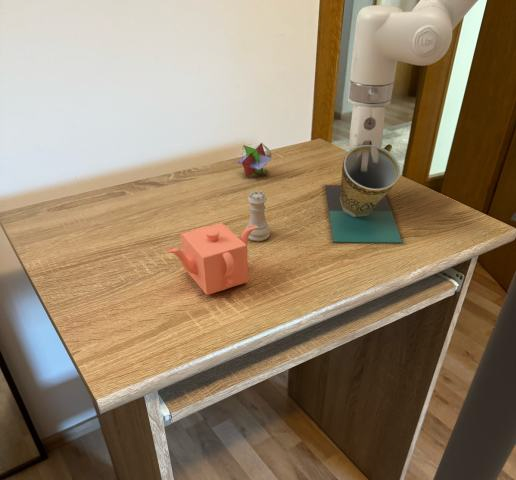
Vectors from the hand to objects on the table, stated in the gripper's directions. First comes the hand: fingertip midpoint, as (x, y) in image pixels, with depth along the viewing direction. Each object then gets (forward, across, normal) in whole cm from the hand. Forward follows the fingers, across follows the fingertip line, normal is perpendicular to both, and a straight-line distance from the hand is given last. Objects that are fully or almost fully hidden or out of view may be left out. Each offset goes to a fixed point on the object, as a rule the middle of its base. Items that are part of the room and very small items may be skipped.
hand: (356, 192), depth 97 cm
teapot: (+2, -29, +25) cm, 38 cm away
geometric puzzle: (+2, +13, +21) cm, 25 cm away
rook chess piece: (+2, -15, +19) cm, 24 cm away
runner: (+2, -5, 0) cm, 5 cm away
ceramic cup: (0, -4, 0) cm, 4 cm away
